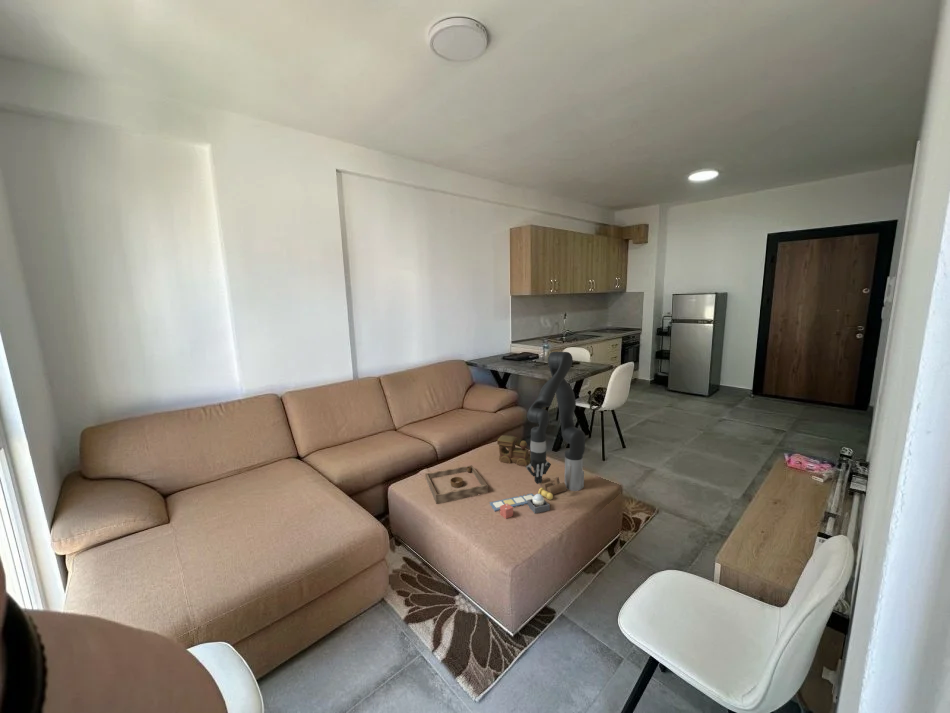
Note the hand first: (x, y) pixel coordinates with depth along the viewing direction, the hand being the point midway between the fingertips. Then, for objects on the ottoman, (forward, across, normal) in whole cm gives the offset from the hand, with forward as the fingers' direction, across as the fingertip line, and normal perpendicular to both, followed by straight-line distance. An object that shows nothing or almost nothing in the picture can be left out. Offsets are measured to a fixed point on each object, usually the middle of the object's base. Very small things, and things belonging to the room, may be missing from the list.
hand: (538, 482), depth 184 cm
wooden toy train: (+13, -10, -48) cm, 51 cm away
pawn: (+11, -7, -10) cm, 16 cm away
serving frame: (+13, +32, -34) cm, 49 cm away
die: (+13, +17, 0) cm, 21 cm away
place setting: (+14, +27, -36) cm, 47 cm away
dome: (+10, 0, 0) cm, 10 cm away
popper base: (+13, 0, 0) cm, 13 cm away
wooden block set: (+10, -10, -11) cm, 18 cm away
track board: (+13, +9, -8) cm, 18 cm away
